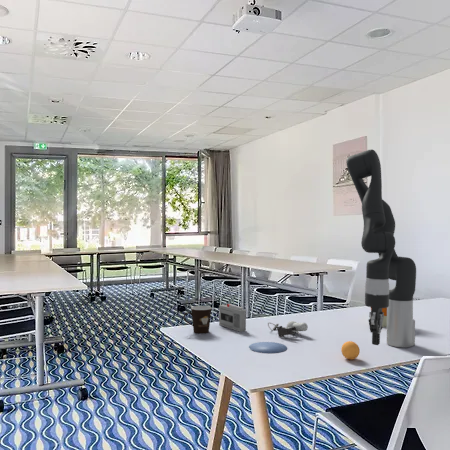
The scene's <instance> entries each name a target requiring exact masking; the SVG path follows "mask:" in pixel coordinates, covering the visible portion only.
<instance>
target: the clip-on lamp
mask: <svg viewBox="0 0 450 450" xmlns="http://www.w3.org/2000/svg"><path fill="white" fill-rule="evenodd" d="M269 324H271V325H272V326H273V328H271V327H270V325H269ZM267 326H268V328H269V330H270V331H272V332H273V330H274V331H276V330H277V334H278V338H283V337H285V336H292V335H294V334H298V335H300V334H301V333H300V332H306V331H307V330H308V324H307V323H306V322H297V321H294V320H291V321H289V322H287V324H286V327H284V326H282V325H280V326H279V323H276V324H274V323H272V322H267Z"/></svg>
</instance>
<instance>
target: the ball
mask: <svg viewBox="0 0 450 450" xmlns="http://www.w3.org/2000/svg"><path fill="white" fill-rule="evenodd" d="M340 349H341V354H342V356H343V357H344V358H346V359H347V360H355V359H357V358H358V357H359V355H360V353H361V352H360V347H359V345H358V344H357V343H356V342H355V341H352V340H349V341H345V342H344V343H343V344H342V346H341V348H340Z"/></svg>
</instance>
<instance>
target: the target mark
mask: <svg viewBox="0 0 450 450" xmlns="http://www.w3.org/2000/svg"><path fill="white" fill-rule="evenodd" d="M248 348H250V349H249V350H250V351H253V352H255V353H256V352H257V353H261V352H262V354H277V353H283V352H286V351H287V349H288V346H287V345H285V344H283V343H279V342H273V341H257V342H253V343H251V344H249V346H248Z"/></svg>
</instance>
